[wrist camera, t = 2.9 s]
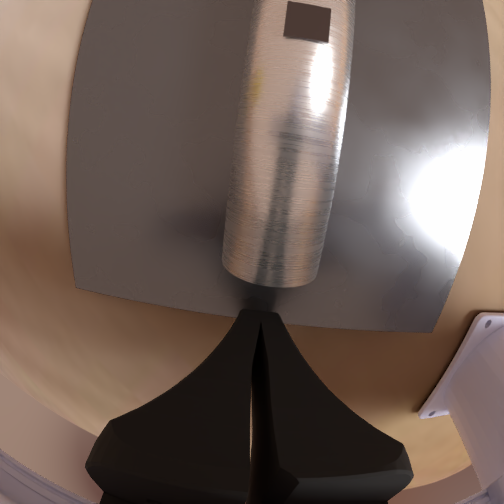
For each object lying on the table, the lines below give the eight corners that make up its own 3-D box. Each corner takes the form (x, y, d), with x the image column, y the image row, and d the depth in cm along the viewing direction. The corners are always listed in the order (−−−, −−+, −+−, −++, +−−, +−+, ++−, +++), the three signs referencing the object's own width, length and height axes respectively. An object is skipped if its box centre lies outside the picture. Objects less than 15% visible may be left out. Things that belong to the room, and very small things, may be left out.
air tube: (272, -74, 5) (272, -117, 2) (345, -62, 5) (362, -102, 2) (228, 241, 10) (213, 281, 7) (310, 252, 10) (325, 295, 7)
